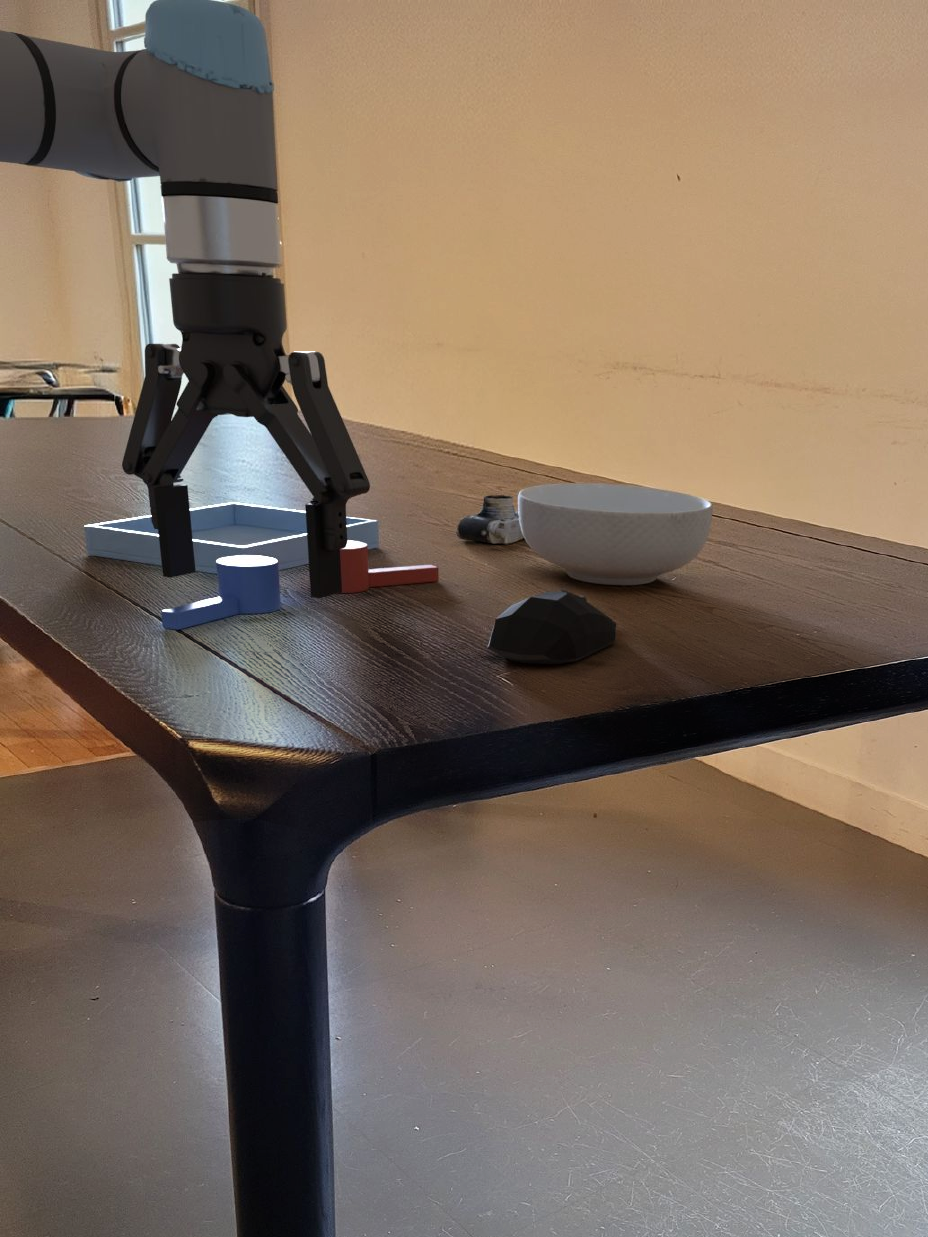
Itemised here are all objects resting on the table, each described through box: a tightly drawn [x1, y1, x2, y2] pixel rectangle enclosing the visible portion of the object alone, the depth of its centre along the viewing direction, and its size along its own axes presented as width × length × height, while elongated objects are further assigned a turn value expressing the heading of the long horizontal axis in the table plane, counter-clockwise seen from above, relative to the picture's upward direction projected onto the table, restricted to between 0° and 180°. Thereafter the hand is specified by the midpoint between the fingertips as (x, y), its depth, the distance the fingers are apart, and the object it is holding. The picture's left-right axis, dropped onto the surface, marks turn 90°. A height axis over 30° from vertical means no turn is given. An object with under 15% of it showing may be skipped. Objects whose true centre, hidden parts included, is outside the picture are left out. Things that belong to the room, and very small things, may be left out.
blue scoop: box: [160, 556, 282, 631], centre depth 94 cm, size 11×4×4 cm, turn 156°
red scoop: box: [340, 540, 440, 594], centre depth 106 cm, size 11×4×4 cm, turn 126°
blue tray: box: [83, 502, 380, 575], centre depth 118 cm, size 17×19×2 cm
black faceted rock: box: [487, 589, 617, 665], centre depth 90 cm, size 6×15×4 cm, turn 154°
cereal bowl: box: [517, 482, 714, 586], centre depth 114 cm, size 17×17×7 cm
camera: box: [455, 494, 525, 545], centre depth 131 cm, size 5×10×4 cm, turn 152°
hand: (251, 584), depth 96 cm, fingers open, 13 cm apart
